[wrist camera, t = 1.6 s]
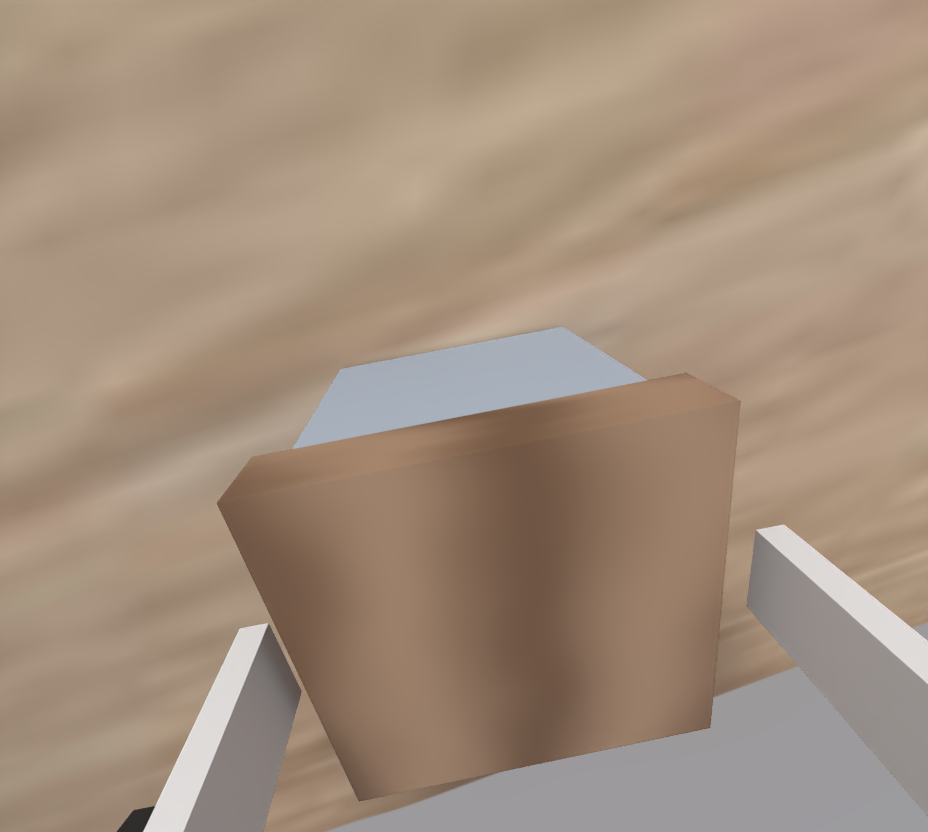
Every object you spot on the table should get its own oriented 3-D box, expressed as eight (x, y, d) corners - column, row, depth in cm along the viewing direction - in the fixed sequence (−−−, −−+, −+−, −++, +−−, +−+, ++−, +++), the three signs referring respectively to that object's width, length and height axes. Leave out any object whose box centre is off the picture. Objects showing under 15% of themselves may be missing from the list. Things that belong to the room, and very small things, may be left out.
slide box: (402, 578, 21) (395, 725, 15) (340, 369, 17) (292, 449, 11) (579, 543, 22) (647, 673, 15) (563, 326, 17) (647, 380, 11)
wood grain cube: (369, 708, 16) (359, 801, 13) (263, 442, 11) (216, 503, 9) (663, 648, 16) (710, 727, 13) (669, 364, 12) (740, 401, 9)
